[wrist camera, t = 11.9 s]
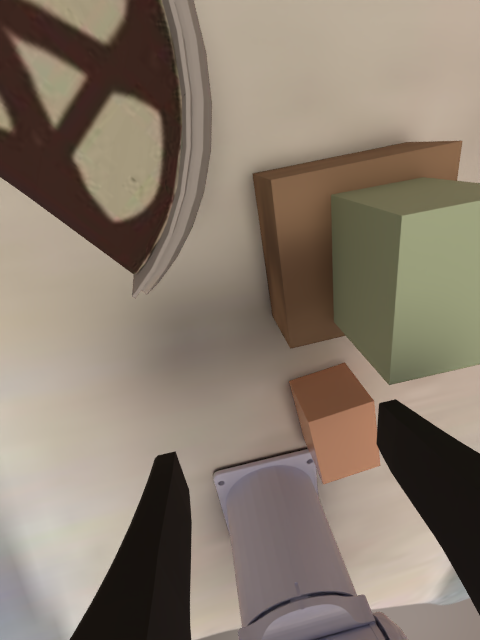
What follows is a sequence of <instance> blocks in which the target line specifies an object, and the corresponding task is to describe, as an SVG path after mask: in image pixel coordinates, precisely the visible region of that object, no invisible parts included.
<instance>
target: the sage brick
mask: <svg viewBox="0 0 480 640" xmlns="http://www.w3.org/2000/svg"><path fill="white" fill-rule="evenodd" d="M331 218H332V262H333V306H334V323H335V324H336V325H337V326H338V327H339V328H340V330H341V331H342V332H343V333H344V334H345V335H346V336H347V338H348V339H349V340H350V341H351V342H352V343H353V344H354V345H355V347H356V348H357V349H358V350H359V351H360V352H361V353H362V355H363V356H364V357H365V358H366V359H367V360H368V361H369V363H370V364H371V365H372V366H373V367H374V368H375V369H376V371H377V372H378V373H379V374H380V375H381V376H382V377H383V379H384V380H385V381H386V382H387V383H388V384H389V385H391V384H396V383H400V382H405V381H409V380H413V379H418V378H422V377H426V376H431V375H435V374H440V373H444V372H448V371H453V370H457V369H462V368H466V367H470V366H475V365H479V364H480V183H471V182H462V181H453V180H444V179H435V178H426V177H422V178H417V179H411V180H406V181H401V182H396V183H390V184H385V185H380V186H374V187H369V188H364V189H359V190H353V191H348V192H343V193H338V194H332V195H331Z"/></svg>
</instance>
